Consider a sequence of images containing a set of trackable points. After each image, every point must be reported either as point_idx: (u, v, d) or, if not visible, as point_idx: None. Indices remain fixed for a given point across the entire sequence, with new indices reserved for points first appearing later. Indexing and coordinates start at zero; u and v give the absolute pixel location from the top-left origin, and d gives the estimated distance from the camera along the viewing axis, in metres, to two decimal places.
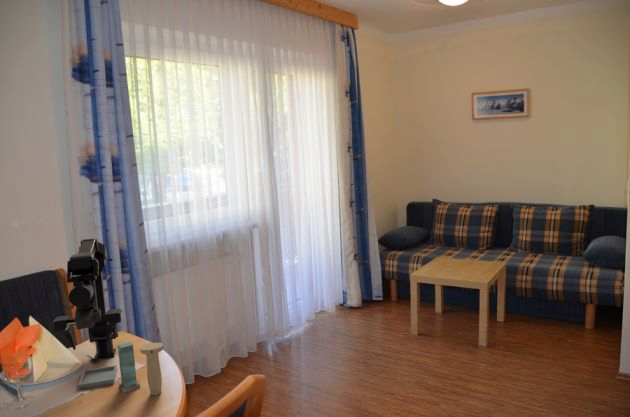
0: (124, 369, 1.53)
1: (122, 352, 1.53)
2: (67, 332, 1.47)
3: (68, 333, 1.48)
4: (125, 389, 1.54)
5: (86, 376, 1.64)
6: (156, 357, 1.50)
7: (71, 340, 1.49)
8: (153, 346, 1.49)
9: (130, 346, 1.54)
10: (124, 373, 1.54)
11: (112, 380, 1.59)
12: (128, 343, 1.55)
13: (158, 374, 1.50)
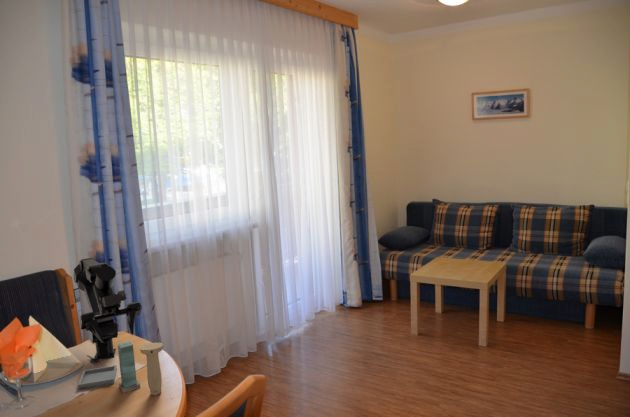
0: (124, 369, 1.53)
1: (122, 352, 1.53)
2: (95, 321, 1.59)
3: (96, 323, 1.59)
4: (125, 389, 1.54)
5: (86, 376, 1.64)
6: (156, 357, 1.50)
7: (99, 331, 1.59)
8: (153, 346, 1.49)
9: (130, 346, 1.54)
10: (124, 373, 1.54)
11: (112, 380, 1.59)
12: (128, 343, 1.55)
13: (158, 374, 1.50)
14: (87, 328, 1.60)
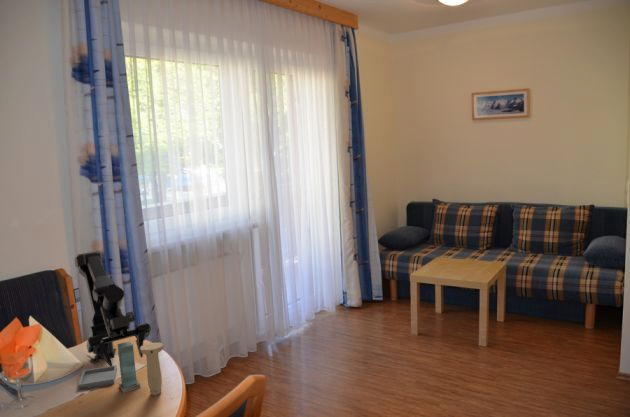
0: (124, 369, 1.53)
1: (122, 352, 1.53)
2: (103, 344, 1.54)
3: (104, 346, 1.54)
4: (125, 389, 1.54)
5: (86, 376, 1.64)
6: (156, 357, 1.50)
7: (107, 354, 1.53)
8: (153, 346, 1.49)
9: (130, 346, 1.54)
10: (124, 373, 1.54)
11: (112, 380, 1.59)
12: (128, 343, 1.55)
13: (158, 374, 1.50)
14: (95, 351, 1.55)
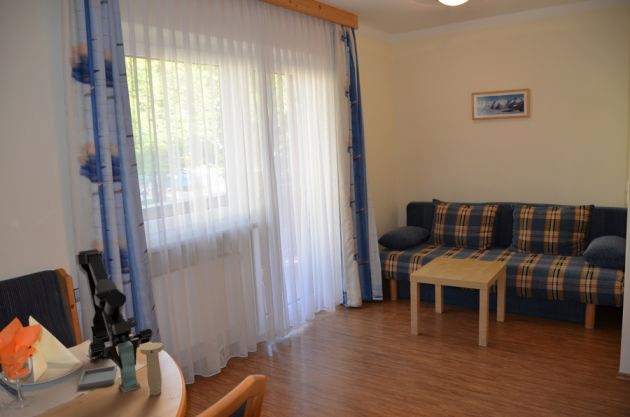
0: (124, 369, 1.53)
1: (122, 352, 1.53)
2: (114, 347, 1.54)
3: (115, 349, 1.54)
4: (125, 389, 1.54)
5: (86, 376, 1.64)
6: (156, 357, 1.50)
7: (118, 358, 1.54)
8: (153, 346, 1.49)
9: (130, 346, 1.54)
10: (124, 373, 1.54)
11: (112, 380, 1.59)
12: (128, 343, 1.55)
13: (158, 374, 1.50)
14: (105, 354, 1.55)
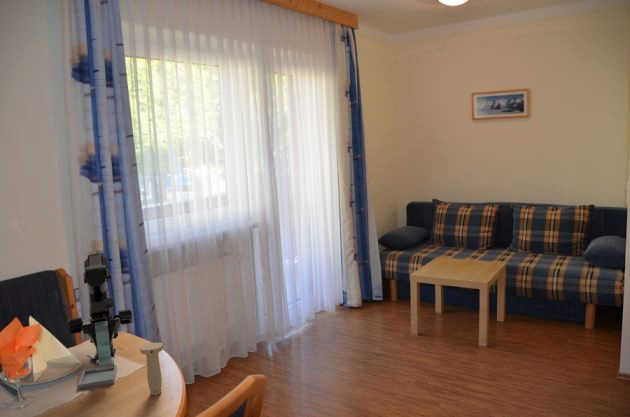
0: (98, 348, 1.56)
1: (96, 331, 1.55)
2: (91, 325, 1.57)
3: (91, 327, 1.57)
4: (99, 367, 1.56)
5: (86, 376, 1.64)
6: (156, 357, 1.50)
7: (94, 336, 1.57)
8: (153, 346, 1.49)
9: (105, 326, 1.56)
10: (98, 352, 1.56)
11: (112, 380, 1.59)
12: (104, 323, 1.57)
13: (158, 374, 1.50)
14: (84, 331, 1.59)
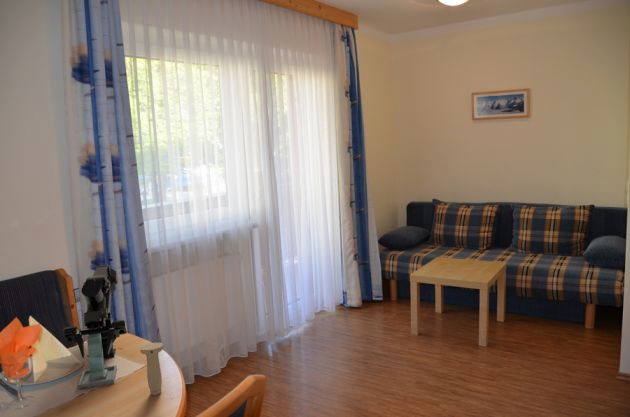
0: (90, 360, 1.59)
1: (88, 343, 1.58)
2: (78, 335, 1.60)
3: (79, 337, 1.60)
4: (91, 379, 1.60)
5: (86, 376, 1.64)
6: (156, 357, 1.50)
7: (81, 346, 1.60)
8: (153, 347, 1.49)
9: (96, 339, 1.59)
10: (90, 364, 1.60)
11: (112, 380, 1.59)
12: (97, 335, 1.61)
13: (158, 374, 1.50)
14: (74, 341, 1.63)
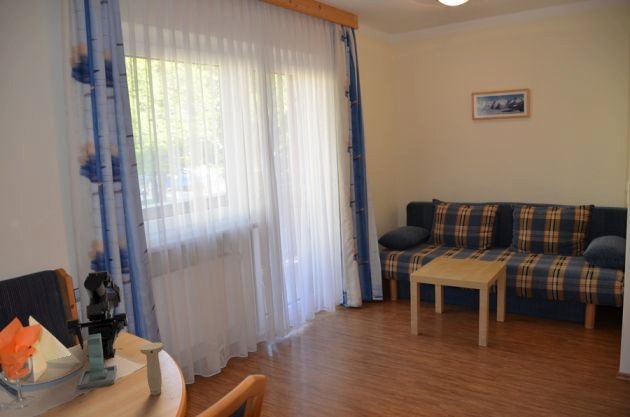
0: (90, 360, 1.59)
1: (88, 343, 1.58)
2: (78, 328, 1.66)
3: (79, 330, 1.66)
4: (91, 379, 1.60)
5: (86, 376, 1.64)
6: (156, 357, 1.50)
7: (80, 338, 1.65)
8: (153, 346, 1.49)
9: (96, 339, 1.59)
10: (90, 364, 1.60)
11: (112, 380, 1.59)
12: (97, 335, 1.61)
13: (158, 374, 1.50)
14: (73, 333, 1.68)
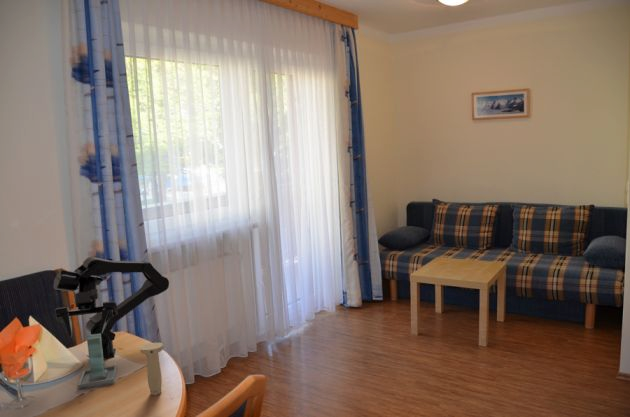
0: (90, 360, 1.59)
1: (88, 343, 1.58)
2: (66, 316, 1.64)
3: (67, 318, 1.64)
4: (91, 379, 1.60)
5: (86, 376, 1.64)
6: (156, 357, 1.50)
7: (69, 326, 1.64)
8: (153, 346, 1.49)
9: (96, 339, 1.59)
10: (90, 364, 1.60)
11: (112, 380, 1.59)
12: (97, 335, 1.61)
13: (158, 374, 1.50)
14: (62, 322, 1.67)
